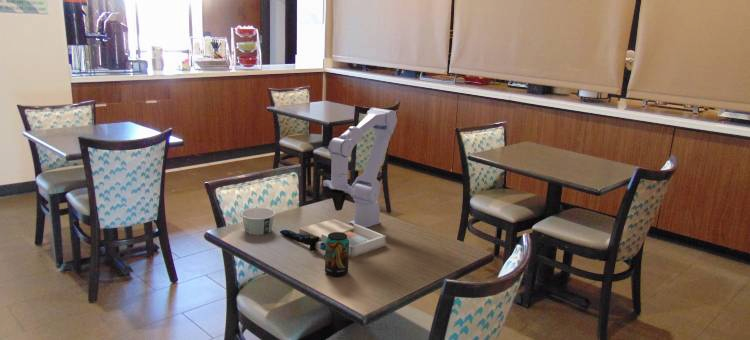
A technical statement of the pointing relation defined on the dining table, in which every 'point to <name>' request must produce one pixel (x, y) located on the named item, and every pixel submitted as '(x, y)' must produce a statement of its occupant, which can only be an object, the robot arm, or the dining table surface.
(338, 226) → the birch plate
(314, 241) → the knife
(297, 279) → the dining table surface
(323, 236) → the box
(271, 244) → the dining table surface
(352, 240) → the blue tile
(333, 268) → the beverage can
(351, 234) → the terracotta tile
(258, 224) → the food container
